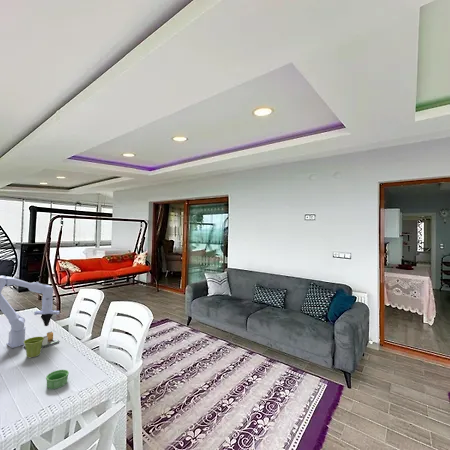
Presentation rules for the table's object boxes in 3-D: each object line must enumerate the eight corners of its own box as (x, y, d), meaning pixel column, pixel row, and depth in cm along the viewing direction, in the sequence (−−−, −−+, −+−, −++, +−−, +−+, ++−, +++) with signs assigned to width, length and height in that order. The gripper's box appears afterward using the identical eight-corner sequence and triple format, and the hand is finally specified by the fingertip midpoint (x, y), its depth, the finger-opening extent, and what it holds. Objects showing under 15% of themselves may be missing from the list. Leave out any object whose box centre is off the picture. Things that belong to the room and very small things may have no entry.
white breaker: (40, 344, 160) (41, 336, 160) (45, 342, 162) (45, 335, 162) (42, 345, 158) (43, 337, 158) (47, 343, 160) (47, 336, 160)
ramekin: (57, 391, 117) (58, 381, 117) (40, 388, 119) (41, 378, 119) (72, 379, 126) (73, 370, 126) (56, 377, 128) (56, 368, 128)
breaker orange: (46, 339, 167) (46, 332, 167) (51, 337, 169) (51, 330, 169) (48, 340, 165) (48, 333, 165) (53, 338, 167) (53, 331, 168)
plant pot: (32, 360, 143) (33, 344, 143) (18, 358, 145) (19, 342, 145) (47, 352, 152) (48, 337, 152) (34, 350, 154) (34, 335, 154)
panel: (23, 347, 158) (23, 344, 158) (51, 338, 171) (51, 336, 171) (30, 352, 152) (30, 348, 152) (59, 342, 165) (59, 339, 165)
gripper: (31, 306, 166) (30, 328, 165) (55, 306, 167) (54, 327, 167) (38, 303, 173) (37, 323, 173) (61, 303, 174) (60, 323, 174)
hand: (46, 325), depth 170 cm, fingers closed
